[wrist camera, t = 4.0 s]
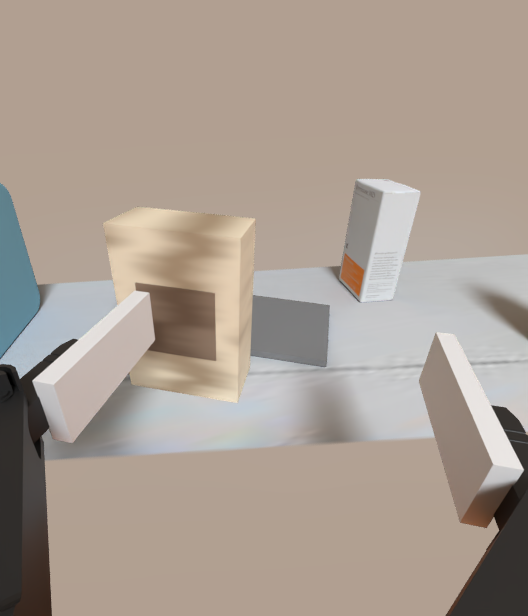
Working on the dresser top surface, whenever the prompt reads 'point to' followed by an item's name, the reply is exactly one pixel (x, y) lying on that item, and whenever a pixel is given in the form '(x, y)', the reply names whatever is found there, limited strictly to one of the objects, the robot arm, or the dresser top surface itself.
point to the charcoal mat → (289, 330)
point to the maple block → (188, 296)
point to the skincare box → (377, 238)
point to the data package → (14, 276)
